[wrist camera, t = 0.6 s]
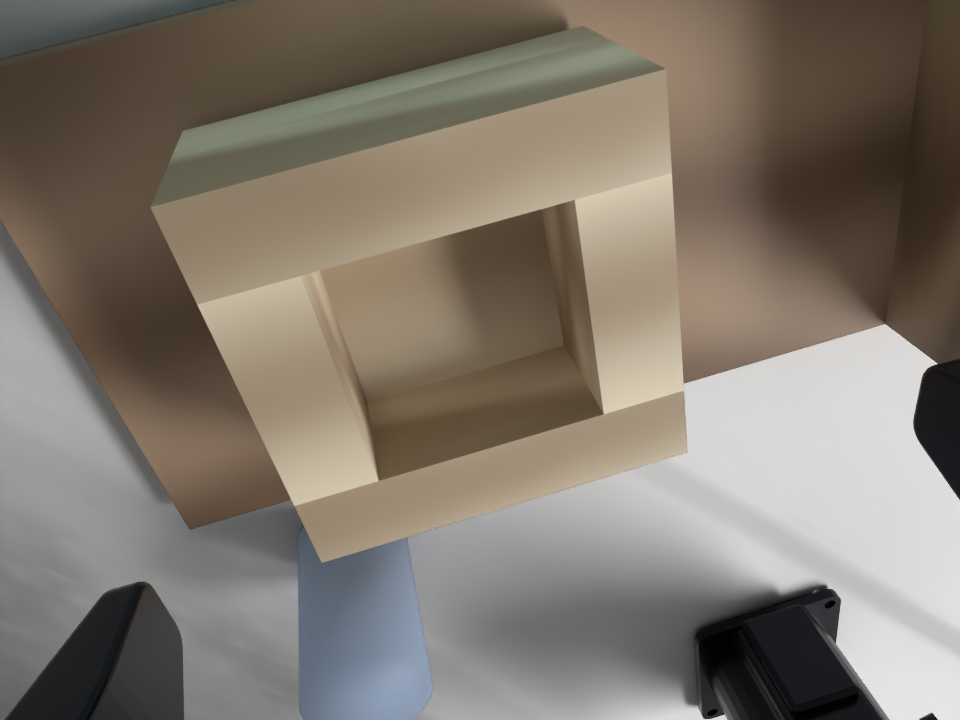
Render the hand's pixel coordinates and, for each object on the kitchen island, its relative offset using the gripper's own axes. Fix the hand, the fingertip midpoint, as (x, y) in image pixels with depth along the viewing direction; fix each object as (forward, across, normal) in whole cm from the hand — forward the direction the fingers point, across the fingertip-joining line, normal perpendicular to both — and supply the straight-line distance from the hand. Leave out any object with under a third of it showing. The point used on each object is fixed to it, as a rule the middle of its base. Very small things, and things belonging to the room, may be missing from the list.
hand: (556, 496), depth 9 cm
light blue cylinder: (+13, +5, +12) cm, 18 cm away
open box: (+11, 0, +2) cm, 11 cm away
